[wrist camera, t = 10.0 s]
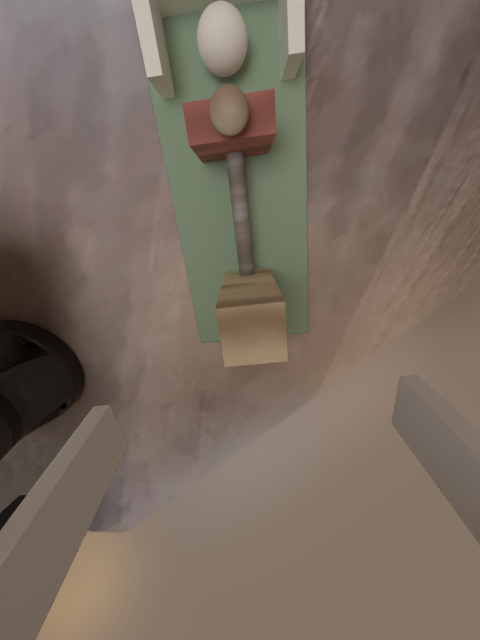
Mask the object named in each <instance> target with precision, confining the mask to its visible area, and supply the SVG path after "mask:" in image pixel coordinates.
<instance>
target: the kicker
mask: <svg viewBox="0 0 480 640" xmlns="http://www.w3.org/2000/svg"><path fill="white" fill-rule="evenodd" d="M182 106H183V112H184V118H185V124H186V130H187V136H188V142H189V147H190V148H191V149H192V150H193V152H194V153H195V154H196V155H197V157H198V158H199V159H200V160H201V162H202V163H205V162H212V161H219V160H226V163H227V172H228V180H229V188H230V197H231V205H232V214H233V222H234V230H235V239H236V247H237V255H238V264H239V271H230V272H225V276H224V279H223V283H222V286H221V290H220V293H219V297H218V300H217V304H216V307H215V312H216V318H217V324H218V330H219V336H220V341H221V347H222V353H223V359H224V365H225V367H234V366H245V365H255V364H266V363H276V362H287V361H288V353H287V332H286V311H285V300H284V298H283V296H282V294H281V292H280V290H279V288H278V286H277V284H276V282H275V280H274V278H273V275H272V273H271V271H270V269H269V267H265V268H256V269H254V261H253V250H252V240H251V229H250V219H249V208H248V198H247V187H246V176H245V166H244V157H247V156H255V155H262V154H268V152H269V150H270V148H271V145H272V143H273V141H274V138H275V136H276V134H277V129H276V108H275V89H270V90H263V91H257V92H250V93H243V91H242V90H241V89H240V88H238V87H237V86H235V85H232V84H226V85H223V86H221V87H219V88H218V89H217V90H216V91H215V92H214V94H213V96H212V98H211V99H205V100H199V101H192V102H186V103H182Z"/></svg>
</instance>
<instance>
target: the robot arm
mask: <svg viewBox="0 0 480 640" xmlns="http://www.w3.org/2000/svg"><path fill="white" fill-rule="evenodd" d="M83 385H84V377H83V371H82V368H81V366H80V363H79V361H78V360H77V358H76V356H75V355H74V354H73V352H72V351H71V350H70V349H69V348H68V347H67V345H66V344H64V343H63V342H62V341H61V340H60V339H59V338H57V337H56V336H54V335H53V334H51V333H50V332H48V331H46V330H44V329H42V328H40V327H37V326H35V325H32V324H29V323H25V322H20V321H0V460H1V459H2V458H3V457H4V456H5V455H6V454H7V453H8V452H9V451H10V450H11V449H12V447H13V446H14V445H15V444H16V443H17V442H18V441H20V440H21V439H22V438H23V437H25V436H26V435H28V434H30V433H31V432H33V431H35V430H36V429H38V428H40V427H42V426H43V425H45V424H47V423H48V422H50V421H52V420H53V419H55V418H57V417H58V416H60V415H62V414H63V413H64V412H65V411H67V410H68V409H69V408H70V406H71V405H72V404H73V403H74V402H75V401H76V400H77V399H78V397H79V396H80V394H81V392H82V389H83ZM392 424H393V426H394V427H395V429H396V430H397V431H398V433H399V434H400V436H401V437H402V438H403V440H404V441H405V442H406V444H407V445H408V447H409V448H410V449H411V451H412V452H413V454H414V455H415V456H416V458H417V459H418V460H419V462H420V463H421V465H422V466H423V467H424V469H425V470H426V471H427V473H428V474H429V475H430V477H431V478H432V480H433V481H434V482H435V484H436V485H437V486H438V488H439V489H440V491H441V492H442V493H443V495H444V496H445V498H446V499H447V500H448V502H449V503H450V504H451V506H452V507H453V509H454V510H455V511H456V513H457V514H458V515H459V517H460V518H461V520H462V521H463V522H464V524H465V525H466V527H467V528H468V529H469V530H470V532H471V533H472V535H473V536H474V538H475V539H476V540H477V542H478V543H479V545H480V431H479V430H478V429H476V428H475V427H474V426H473V425H472V424H471V423H470V422H469V421H468V420H467V419H465V418H464V417H463V416H462V415H461V414H460V413H459V412H458V411H457V410H456V409H454V408H453V407H452V406H451V405H450V404H449V403H448V402H447V401H446V400H444V399H443V398H442V397H441V396H440V395H439V394H438V393H437V392H436V391H435V390H434V389H432V388H431V387H430V386H429V385H428V384H427V383H426V382H425V381H423V379H421V378H420V377H419V376H418V375H411V376H401V377H399V383H398V389H397V395H396V401H395V406H394V412H393V418H392ZM126 449H127V445H126V443H125V440H124V438H123V436H122V433H121V431H120V429H119V426H118V424H117V422H116V419H115V417H114V414H113V412H112V410H111V407H110V405H103V406H93V408H92V409H91V410H90V412H89V413H88V414H87V416H86V417H85V418H84V420H83V421H82V422H81V424H80V425H79V426H78V428H77V429H76V430H75V432H74V433H73V434H72V436H71V437H70V438H69V440H68V441H67V442H66V444H65V445H64V446H63V448H62V449H61V450H60V452H59V453H58V454H57V456H56V457H55V458H54V460H53V461H52V462H51V464H50V465H49V466H48V468H47V469H46V470H45V472H44V473H43V474H42V476H41V477H40V478H39V480H38V481H37V482H36V484H35V485H34V486H33V488H32V489H31V490H30V492H29V493H28V494H27V495H22V496H19V497H18V498H16V499H15V500H14V501H13V502H12V503H11V504H10V505H9V506H8V507H7V508H5V509H4V510H3V511H2V512H1V513H0V640H36V638H37V636H38V633H39V631H40V629H41V627H42V625H43V623H44V621H45V619H46V617H47V614H48V613H49V611H50V608H51V606H52V604H53V602H54V600H55V598H56V596H57V593H58V592H59V589H60V587H61V585H62V583H63V581H64V579H65V577H66V575H67V573H68V571H69V568H70V566H71V564H72V562H73V560H74V558H75V556H76V554H77V552H78V549H79V547H80V545H81V543H82V541H83V539H84V537H85V535H86V533H87V531H88V528H89V526H90V524H91V522H92V520H93V518H94V516H95V514H96V512H97V510H98V507H99V505H100V503H101V501H102V499H103V497H104V495H105V493H106V491H107V489H108V486H109V484H110V482H111V480H112V478H113V476H114V474H115V472H116V470H117V468H118V465H119V463H120V461H121V459H122V457H123V455H124V453H125V451H126Z"/></svg>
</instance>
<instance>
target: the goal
mask: <svg viewBox="0 0 480 640" xmlns="http://www.w3.org/2000/svg"><path fill="white" fill-rule="evenodd" d="M131 1H132V5H133V10H134V15H135V20H136V25H137V30H138V35H139V40H140V45H141V49H142V54H143V59H144V64H145V69H146V74H147V78H148V79H149V81H150V82H151V84H152V85H153V86H154V88H155V89H156V91H157V92H158V94H159V95H160V96H161V98H162V99H169V98H176V97H175V92H174V86H173V80H172V74H171V69H170V63H169V57H168V51H167V46H166V40H165V34H164V28H163V23H162V18H164V17H170V16H176V15H182V14H187V13H193V12H199V11H204V10H205V9H206V8H207V6H209V5H210V4H211V3H213V2H215V1H226V2H229V3H231V4H232V5H239V4H245V3H250V2H256V1H262V0H131ZM278 19H279V44H280V70H281V81H284V80H291V79H295V76H296V74H297V71H298V69H299V66H300V64H301V61H302V58H303V56H304V53H305V0H278Z"/></svg>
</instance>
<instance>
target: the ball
mask: <svg viewBox="0 0 480 640" xmlns="http://www.w3.org/2000/svg"><path fill="white" fill-rule="evenodd" d="M247 45H248V37H247V30H246V25H245V22H244V20H243V17H242V16H241V14H240V12H239V11H238V10H237V8H236V7H235V6H234V5H232V4H231V3H229V2H226V1H215V2H213V3H211V4H210V5H209V6H207V8H206V9H205V10H204V11H203V13H202V15H201V17H200V20H199V23H198V28H197V46H198V51H199V54H200V57H201V59H202V61H203V63H204V65H205V66H206V68H207V69H208V70H209V71H210V72H211V73H213V74H214V75H216V76H219V77H228V76H231V75H233V74H234V73H236V72H237V71H238V70H239V68H240V67H241V65H242V64H243V62H244V59H245V56H246V52H247Z"/></svg>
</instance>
